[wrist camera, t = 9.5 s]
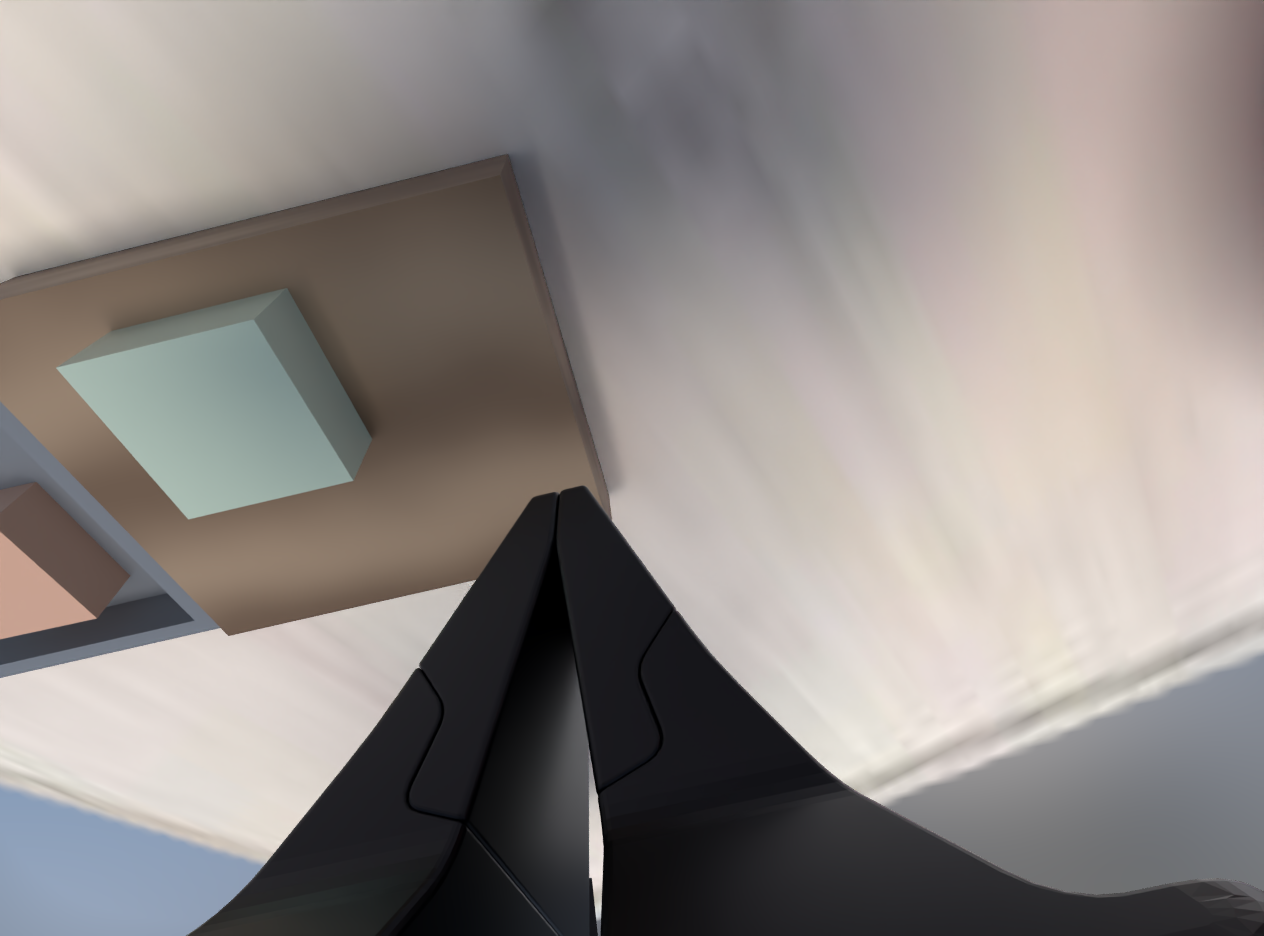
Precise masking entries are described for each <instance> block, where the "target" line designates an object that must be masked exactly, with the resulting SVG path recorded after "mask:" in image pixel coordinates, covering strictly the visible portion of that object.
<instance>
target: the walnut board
mask: <svg viewBox="0 0 1264 936" xmlns="http://www.w3.org/2000/svg"><path fill="white" fill-rule="evenodd" d="M284 288H287V289H288V291H289V292H290V294H291V296H292V298H293V299H294V301H295V303H296V305H297V307H298V308H299V310H300V312H301V314H302V315H303V317H304V319H305V321H306V322H307V324H308V326H309V328H310V330H311V331H312V333H313V335H314V337H315V338H316V340H317V342H318V344H319V346H320V347H321V349H322V351H323V353H324V354H325V356H326V358H327V360H328V361H329V363H330V365H331V367H332V369H333V370H334V372H335V374H336V376H337V377H338V379H339V381H340V383H341V385H342V386H343V388H344V390H345V392H346V393H347V395H348V397H349V399H350V400H351V402H352V404H353V406H354V408H355V409H356V411H357V413H358V415H359V416H360V418H361V420H362V422H363V424H364V425H365V427H366V429H367V431H368V432H369V434H370V436H371V438H372V440H371V443H370V445H369V447H368V449H367V452H366V454H365V456H364V458H363V460H362V463H361V465H360V467H359V469H358V472H357V474H356V476H355V478H354V481H350V482H346V483H342V484H338V485H333V486H329V487H325V488H321V489H316V490H312V491H308V492H303V493H299V494H295V495H291V496H286V497H282V498H278V499H274V500H269V501H265V502H261V503H256V504H252V505H248V506H244V507H239V508H235V509H231V510H227V511H222V512H218V513H214V514H209V515H205V516H201V517H197V518H192V519H188V518H187V517H186V516H185V515H184V514H183V513H182V512H181V510H180V509H179V508H178V507H177V506H176V505H175V504H174V502H173V501H172V500H171V499H170V498H169V497H168V496H167V494H166V493H165V492H164V491H163V490H162V489H161V488H160V486H159V485H158V484H157V483H156V482H155V481H154V480H153V478H152V477H151V476H150V475H149V474H148V473H147V472H146V470H145V469H144V468H143V467H142V466H141V465H140V464H139V462H138V461H137V460H136V459H135V458H134V457H133V456H132V454H131V453H130V452H129V451H128V450H127V449H126V448H125V446H124V445H123V444H122V443H121V442H120V441H119V439H118V438H117V437H116V436H115V435H114V434H113V433H112V431H111V430H110V429H109V428H108V427H107V426H106V425H105V423H104V422H103V421H102V420H101V419H100V418H99V417H98V415H97V414H96V413H95V412H94V411H93V410H92V409H91V407H90V406H89V405H88V404H87V403H86V402H85V401H84V399H83V398H82V397H81V396H80V395H79V394H78V393H77V391H76V390H75V389H74V388H73V387H72V386H71V385H70V383H69V382H68V381H67V380H66V379H65V378H64V377H63V375H62V374H61V373H60V372H59V371H58V370H57V369H56V367H58V366H59V365H61V364H62V363H64V362H65V361H67V360H68V359H70V358H71V357H73V356H74V355H76V354H77V353H79V352H80V351H82V350H83V349H85V348H86V347H88V346H89V345H91V344H92V343H94V342H95V341H97V340H98V339H100V338H101V337H103V336H104V335H106V334H107V333H109V332H110V331H114V330H118V329H122V328H126V327H130V326H134V325H138V324H142V323H146V322H150V321H154V320H158V319H162V318H166V317H170V316H175V315H179V314H183V313H187V312H191V311H195V310H199V309H203V308H207V307H211V306H215V305H219V304H223V303H227V302H231V301H236V300H240V299H244V298H248V297H252V296H256V295H260V294H264V293H268V292H272V291H276V290H280V289H284ZM0 401H1V403H2V404H3V405H4V406H5V407H6V408H7V409H8V410H9V411H10V412H11V413H12V414H13V415H14V416H15V417H16V418H17V419H18V420H19V421H20V422H21V423H22V424H23V425H24V426H25V427H26V428H27V429H28V430H29V431H30V432H31V433H32V434H33V435H34V436H35V437H36V439H37V440H38V441H39V442H40V443H41V444H42V445H43V446H44V447H45V448H46V449H47V450H48V451H49V452H50V453H51V454H52V455H53V456H54V457H55V458H56V459H57V460H58V461H59V462H60V463H61V464H62V465H63V466H64V467H65V468H66V469H67V470H68V471H69V472H70V473H71V474H72V476H73V477H74V478H75V479H76V480H77V481H78V482H79V483H80V484H81V485H82V486H83V487H84V488H85V489H86V490H87V491H88V492H89V493H90V494H91V495H92V496H93V497H94V498H95V499H96V500H97V501H98V502H99V503H100V504H101V505H102V506H103V507H104V508H105V509H106V510H107V512H108V513H109V514H110V515H111V516H112V517H113V518H114V519H115V520H116V521H117V522H118V523H119V524H120V525H121V526H122V527H123V528H124V529H125V530H126V531H127V532H128V533H129V534H130V535H131V536H132V537H133V538H134V539H135V540H136V541H137V542H138V543H139V544H140V545H141V546H142V547H143V549H144V550H145V551H146V552H147V553H148V554H149V555H150V556H151V557H152V558H153V559H154V560H155V561H156V562H157V563H158V564H159V565H160V566H161V567H162V568H163V569H164V570H165V571H166V572H167V573H168V574H169V575H170V576H171V577H172V578H173V579H174V580H175V581H176V582H177V583H178V585H179V586H180V587H181V588H182V589H183V590H184V591H185V592H186V593H187V594H188V595H189V596H190V597H191V598H192V599H193V600H194V601H195V602H196V603H197V604H198V605H199V606H200V607H201V608H202V609H203V610H204V611H205V612H206V613H207V614H208V615H209V616H210V617H211V618H212V619H213V620H214V622H215V623H216V624H217V625H218V626H219V627H220V628H221V629H222V630H223V631H224V632H225V633H226V634H227V635H228V636H230V635H235V634H239V633H243V632H248V631H252V630H257V629H261V628H265V627H270V626H274V625H279V624H283V623H287V622H292V621H296V620H301V619H305V618H309V617H314V616H318V615H323V614H327V613H332V612H336V611H340V610H345V609H349V608H354V607H358V606H362V605H367V604H371V603H376V602H380V601H384V600H389V599H393V598H398V597H402V596H406V595H411V594H415V593H420V592H424V591H429V590H433V589H437V588H442V587H446V586H451V585H455V584H459V583H464V582H468V581H473V580H477V578H478V577H479V575H480V574H481V572H482V571H483V569H484V568H485V566H486V565H487V563H488V562H489V560H490V559H491V557H492V556H493V554H494V553H495V551H496V550H497V549H498V547H499V546H500V544H501V543H502V541H503V540H504V538H505V537H506V535H507V534H508V532H509V531H510V529H511V528H512V526H513V525H514V523H515V522H516V520H517V519H518V518H519V516H520V515H521V513H522V512H523V510H524V509H525V507H526V506H527V504H528V503H529V501H530V500H531V499H532V498H533V497H535V496H538V495H543V494H547V493H551V492H558V493H559V494H560V492H561V491H562V490H564V489H569V488H573V487H577V486H581V485H584V486H586V487H587V488H588V489H589V490H590V492H591V493H592V494H593V496H594V497H595V498H596V500H597V501H598V503H599V504H600V505H601V507H602V508H603V509H604V511H605V512H606V513H607V515H608V516H609V518H610V519H611V520H612V517H611V509H610V501H609V494H608V490H607V487H606V484H605V480H604V477H603V474H602V470H601V467H600V463H599V460H598V457H597V453H596V450H595V446H594V443H593V440H592V436H591V433H590V430H589V426H588V423H587V419H586V416H585V413H584V409H583V406H582V403H581V399H580V396H579V392H578V389H577V386H576V382H575V379H574V375H573V372H572V369H571V365H570V362H569V359H568V355H567V352H566V348H565V345H564V342H563V338H562V335H561V331H560V328H559V325H558V321H557V318H556V315H555V311H554V308H553V304H552V301H551V298H550V294H549V291H548V288H547V284H546V281H545V277H544V274H543V271H542V267H541V264H540V260H539V257H538V254H537V250H536V247H535V244H534V240H533V237H532V233H531V230H530V227H529V223H528V220H527V217H526V213H525V210H524V206H523V203H522V200H521V196H520V193H519V189H518V186H517V183H516V179H515V176H514V173H513V169H512V166H511V162H510V159H509V156H508V154H506V155H502V156H498V157H494V158H490V159H486V160H482V161H478V162H474V163H470V164H466V165H462V166H458V167H454V168H450V169H446V170H442V171H438V172H434V173H430V174H426V175H422V176H418V177H414V178H410V179H406V180H402V181H398V182H394V183H390V184H386V185H382V186H378V187H374V188H370V189H366V190H362V191H358V192H354V193H350V194H346V195H342V196H338V197H334V198H330V199H326V200H322V201H318V202H314V203H310V204H306V205H302V206H298V207H294V208H290V209H286V210H282V211H278V212H274V213H270V214H266V215H262V216H258V217H254V218H250V219H246V220H242V221H238V222H234V223H230V224H226V225H222V226H219V227H215V228H211V229H207V230H203V231H199V232H195V233H191V234H187V235H183V236H179V237H175V238H171V239H167V240H163V241H159V242H155V243H151V244H147V245H143V246H139V247H135V248H131V249H127V250H123V251H119V252H115V253H111V254H107V255H103V256H99V257H95V258H91V259H87V260H83V261H79V262H75V263H71V264H67V265H63V266H59V267H55V268H51V269H47V270H43V271H39V272H35V273H31V274H27V275H23V276H19V277H15V278H12V279H10V280H8V281H6V282H3V283H1V284H0Z"/></svg>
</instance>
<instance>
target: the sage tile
mask: <svg viewBox="0 0 1264 936" xmlns="http://www.w3.org/2000/svg"><path fill="white" fill-rule="evenodd" d="M56 369H57V370H58V371H59V372H60V373H61V374H62V375H63V377H64V378H65V379H66V380H67V381H68V382H69V383H70V385H71V386H72V387H73V388H74V389H75V390H76V391H77V393H78V394H79V395H80V396H81V397H82V398H83V399H84V401H85V402H86V403H87V404H88V405H89V406H90V407H91V409H92V410H93V411H94V412H95V413H96V414H97V415H98V417H99V418H100V419H101V420H102V421H103V422H104V423H105V425H106V426H107V427H108V428H109V429H110V430H111V431H112V433H113V434H114V435H115V436H116V437H117V438H118V439H119V441H120V442H121V443H122V444H123V445H124V446H125V448H126V449H127V450H128V451H129V452H130V453H131V454H132V456H133V457H134V458H135V459H136V460H137V461H138V462H139V464H140V465H141V466H142V467H143V468H144V469H145V470H146V472H147V473H148V474H149V475H150V476H151V477H152V478H153V480H154V481H155V482H156V483H157V484H158V485H159V486H160V488H161V489H162V490H163V491H164V492H165V493H166V494H167V496H168V497H169V498H170V499H171V500H172V501H173V502H174V504H175V505H176V506H177V507H178V508H179V509H180V510H181V512H182V513H183V514H184V515H185V516H186V517H187V518H188V519H192V518H197V517H201V516H205V515H209V514H214V513H218V512H222V511H227V510H231V509H235V508H239V507H244V506H248V505H252V504H256V503H261V502H265V501H269V500H274V499H278V498H282V497H286V496H291V495H295V494H299V493H303V492H308V491H312V490H316V489H321V488H325V487H329V486H333V485H338V484H342V483H346V482H350V481H354V478H355V476H356V474H357V472H358V469H359V467H360V465H361V463H362V460H363V458H364V456H365V454H366V452H367V449H368V447H369V445H370V443H371V440H372V438H371V436H370V434H369V432H368V431H367V429H366V427H365V425H364V424H363V422H362V420H361V418H360V416H359V415H358V413H357V411H356V409H355V408H354V406H353V404H352V402H351V400H350V399H349V397H348V395H347V393H346V392H345V390H344V388H343V386H342V385H341V383H340V381H339V379H338V377H337V376H336V374H335V372H334V370H333V369H332V367H331V365H330V363H329V361H328V360H327V358H326V356H325V354H324V353H323V351H322V349H321V347H320V346H319V344H318V342H317V340H316V338H315V337H314V335H313V333H312V331H311V330H310V328H309V326H308V324H307V322H306V321H305V319H304V317H303V315H302V314H301V312H300V310H299V308H298V307H297V305H296V303H295V301H294V299H293V298H292V296H291V294H290V292H289V291H288V289H287V288H284V289H280V290H276V291H272V292H268V293H264V294H260V295H256V296H252V297H248V298H244V299H240V300H236V301H231V302H227V303H223V304H219V305H215V306H211V307H207V308H203V309H199V310H195V311H191V312H187V313H183V314H179V315H175V316H170V317H166V318H162V319H158V320H154V321H150V322H146V323H142V324H138V325H134V326H130V327H126V328H122V329H118V330H114V331H110V332H109V333H107V334H106V335H104V336H103V337H101V338H100V339H98V340H97V341H95V342H94V343H92V344H91V345H89V346H88V347H86V348H85V349H83V350H82V351H80V352H79V353H77V354H76V355H74V356H73V357H71V358H70V359H68V360H67V361H65V362H64V363H62V364H61V365H59V366H58V367H56Z"/></svg>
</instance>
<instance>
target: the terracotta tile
mask: <svg viewBox="0 0 1264 936" xmlns="http://www.w3.org/2000/svg"><path fill="white" fill-rule="evenodd" d="M129 577H130V575H129V574H128V573H127V572H126V571H125V570H124V569H123V568H122V567H121V566H120V565H119V564H118V563H117V562H116V561H115V560H114V559H113V558H112V557H111V556H110V555H109V554H108V553H107V552H106V551H105V550H104V549H103V548H102V547H101V546H100V545H99V544H98V543H97V542H96V541H95V540H94V539H93V538H92V537H91V536H90V535H89V534H88V533H87V532H86V531H85V530H84V529H83V528H82V527H81V526H80V525H79V524H78V523H77V522H76V521H75V520H74V519H73V518H72V517H71V516H70V515H69V514H68V513H67V512H66V511H65V510H64V509H63V508H62V507H61V506H60V505H59V504H58V503H57V502H56V501H55V500H54V499H53V498H52V497H51V496H50V495H49V494H48V493H47V492H46V491H45V490H44V489H43V488H42V487H41V486H40V485H39V484H38V483H37V482H33V483H28V484H24V485H19V486H15V487H10V488H6V489H1V490H0V639H4V638H8V637H13V636H18V635H22V634H27V633H32V632H36V631H41V630H46V629H50V628H55V627H60V626H64V625H69V624H74V623H78V622H83V621H87V620H92V619H97V618H98V617H99V615H100V614H101V613H102V612H103V610H104V609H105V608H106V606H107V605H108V604H109V603H110V601H111V600H112V599H113V598H114V596H115V595H116V594H117V592H118V591H119V590H120V589H121V587H122V586H123V585H124V583H125V582H126V581H127V580H128V578H129Z"/></svg>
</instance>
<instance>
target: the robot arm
mask: <svg viewBox="0 0 1264 936" xmlns="http://www.w3.org/2000/svg"><path fill="white" fill-rule="evenodd" d="M419 666H420V668H421V669H420V668H417V669H415V671H414V672H413V674H412V675H411V677H410V678H409V680H408V681H407V682H406V684H405V685H404V687H403V688H402V690H401V691H400V693H399V694H398V696H397V697H396V698H395V700H394V701H393V703H392V704H391V705H390V707H389V708H388V710H387V711H386V712H385V714H384V715H383V717H382V718H381V719H380V721H379V722H378V724H377V725H376V726H375V728H374V729H373V730H372V732H371V733H370V734H369V735H368V737H367V738H366V739H365V741H364V742H363V743H362V744H361V746H360V747H359V748H358V750H357V751H356V752H355V753H354V755H353V756H352V757H351V759H350V760H349V761H348V762H347V764H346V765H345V766H344V767H343V769H342V770H341V771H340V772H339V774H338V775H337V776H336V777H335V779H334V780H333V781H332V782H331V784H330V785H329V786H328V787H327V788H326V790H325V791H324V792H323V793H322V795H321V796H320V797H319V798H318V800H317V801H316V802H315V803H314V805H313V806H312V807H311V808H310V809H309V811H308V812H307V813H306V814H305V816H304V817H303V818H302V819H301V821H300V822H299V823H298V824H297V826H296V827H295V828H294V829H293V830H292V832H291V833H290V834H289V835H288V837H287V838H286V839H285V840H284V842H283V843H282V844H281V845H280V847H279V848H278V849H277V850H276V852H275V853H274V854H273V855H272V856H271V858H270V859H269V860H268V861H267V863H266V864H265V865H264V866H263V867H262V868H261V870H260V871H259V872H258V873H257V875H255V877H254V878H253V879H252V880H251V881H250V882H249V883H248V884H247V885H246V886H245V887H244V888H243V889H242V890H241V891H240V892H239V893H238V894H237V896H235V897H234V898H233V899H232V900H231V901H230V902H229V903H228V904H227V905H226V906H225V907H223V908H222V909H221V910H220V911H219V912H218V913H217V914H216V915H214V916H213V917H211V918H210V919H209V920H207V921H206V922H205V923H204V924H202V925H201V926H200V927H198V928H197V929H195V930H194V931H193V932H191V933H189V934H188V935H186V936H598V933H597V924H596V914H595V905H594V895H593V886H592V878H589V749H590V755H591V762H592V768H593V774H594V780H595V786H596V792H597V794H598V803H599V809H600V816H601V824H602V834H603V845H604V859H603V885H602V911H601V936H1264V891H1262V890H1260V889H1258V888H1255V887H1254V886H1251V885H1249V884H1246V883H1244V882H1241V881H1236V880H1227V879H1219V878H1216V879H1195V880H1189V881H1183V882H1176V883H1170V884H1165V885H1160V886H1155V887H1150V888H1145V889H1141V890H1135V891H1130V892H1125V893H1114V894H1101V895H1094V894H1085V893H1075V892H1067V891H1063V890H1059V889H1055V888H1052V887H1048V886H1044V885H1040V884H1037V883H1034V882H1031V881H1029V880H1027V879H1024V878H1022V877H1020V876H1018V875H1015V874H1013V873H1011V872H1008V871H1006V870H1005V869H1003V868H1001V867H999V866H997V865H995V864H993V863H991V862H989V861H987V860H986V859H983V858H982V857H980V856H978V855H976V854H974V853H972V852H970V851H968V850H966V849H965V848H963V847H961V846H959V845H957V844H955V843H953V842H951V841H949V840H948V839H946V838H944V837H942V836H940V835H938V834H936V833H934V832H932V831H930V830H928V829H927V828H925V827H923V826H921V825H919V824H917V823H915V822H913V821H911V820H910V819H908V818H906V817H904V816H902V815H900V814H898V813H896V812H894V811H893V810H891V809H889V808H887V807H885V806H883V805H881V804H879V803H877V802H875V801H874V800H872V799H870V798H868V797H866V796H864V795H862V794H860V793H859V792H857V791H855V790H854V789H852V788H851V787H849V786H848V785H846V784H845V783H843V782H842V781H841V780H839V779H838V778H837V777H836V776H834V775H833V774H832V773H831V772H829V771H828V770H827V769H826V768H825V767H824V766H822V765H821V764H820V763H819V762H818V761H817V760H816V759H815V758H814V757H813V756H812V755H810V754H809V753H808V752H807V751H806V750H805V749H804V748H803V747H802V746H801V745H800V744H799V743H798V742H797V741H796V740H795V739H794V738H793V737H792V736H791V735H790V734H789V733H788V732H787V731H786V730H785V729H784V728H783V727H782V726H781V725H780V724H779V723H778V722H777V721H776V720H775V719H774V718H773V717H772V716H771V715H770V714H769V713H768V712H767V711H766V710H765V709H764V708H763V707H762V706H761V705H760V704H759V703H758V702H757V701H756V700H755V699H754V698H753V697H752V696H751V695H750V694H749V693H748V692H747V691H746V690H745V689H744V688H743V687H742V686H741V685H740V684H739V683H738V682H737V681H736V680H735V679H734V678H733V677H732V676H731V675H730V674H729V672H728V671H727V670H726V669H725V668H724V667H723V666H722V665H721V664H720V663H719V662H718V661H717V660H716V658H715V657H714V656H713V655H712V654H711V653H710V652H709V650H708V649H707V648H706V647H705V645H704V644H703V643H702V642H701V640H700V639H699V638H698V637H697V635H696V634H695V633H694V632H693V630H692V629H691V628H690V626H689V625H688V624H687V622H686V621H685V620H684V618H683V617H682V616H681V614H680V613H679V612H678V611H676V608H675V607H674V605H673V604H672V602H671V601H670V600H669V598H668V597H667V596H666V594H665V593H664V591H663V590H662V589H661V587H660V586H659V585H658V583H657V582H656V581H655V579H654V578H653V576H652V575H651V574H650V572H649V571H648V570H647V568H646V567H645V565H644V564H643V563H642V561H641V560H640V559H639V557H638V556H637V555H636V553H635V552H634V550H633V549H632V548H631V546H630V545H629V544H628V542H627V541H626V539H625V538H624V537H623V535H622V534H621V533H620V531H619V530H618V529H617V527H616V526H615V524H614V523H613V522H612V520H611V519H610V518H609V516H608V515H607V513H606V512H605V511H604V509H603V508H602V507H601V505H600V504H599V503H598V501H597V500H596V498H595V497H594V496H593V494H592V493H591V492H590V490H589V489H588V488H587V487H586V486H584V485H581V486H577V487H573V488H569V489H564V490H562V491H561V492H560V494H559V493H558V492H551V493H547V494H543V495H538V496H535V497H533V498H532V499H531V500H530V501H529V503H528V504H527V506H526V507H525V509H524V510H523V512H522V513H521V515H520V516H519V518H518V519H517V520H516V522H515V523H514V525H513V526H512V528H511V529H510V531H509V532H508V534H507V535H506V537H505V538H504V540H503V541H502V543H501V544H500V546H499V547H498V549H497V550H496V551H495V553H494V554H493V556H492V557H491V559H490V560H489V562H488V563H487V565H486V566H485V568H484V569H483V571H482V572H481V574H480V575H479V577H478V578H477V580H476V581H475V582H474V584H473V585H472V587H471V588H470V590H469V591H468V593H467V594H466V596H465V597H464V599H463V600H462V602H461V603H460V605H459V606H458V608H457V609H456V611H455V612H454V613H453V615H452V616H451V618H450V619H449V621H448V622H447V624H446V625H445V627H444V628H443V630H442V631H441V633H440V634H439V636H438V637H437V639H436V640H435V642H434V643H433V644H432V646H431V647H430V649H429V650H428V652H427V653H426V655H425V656H424V658H423V659H422V661H421V662H420V664H419Z"/></svg>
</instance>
